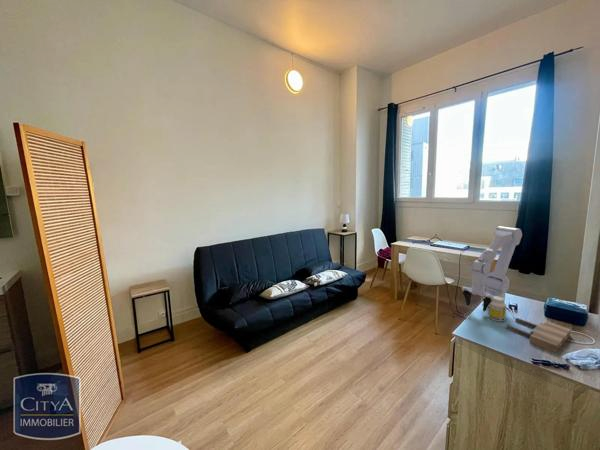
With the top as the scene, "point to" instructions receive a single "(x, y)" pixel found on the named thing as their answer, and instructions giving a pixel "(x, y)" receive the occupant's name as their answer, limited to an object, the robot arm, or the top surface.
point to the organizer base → (544, 334)
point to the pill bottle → (497, 309)
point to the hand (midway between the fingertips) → (476, 307)
